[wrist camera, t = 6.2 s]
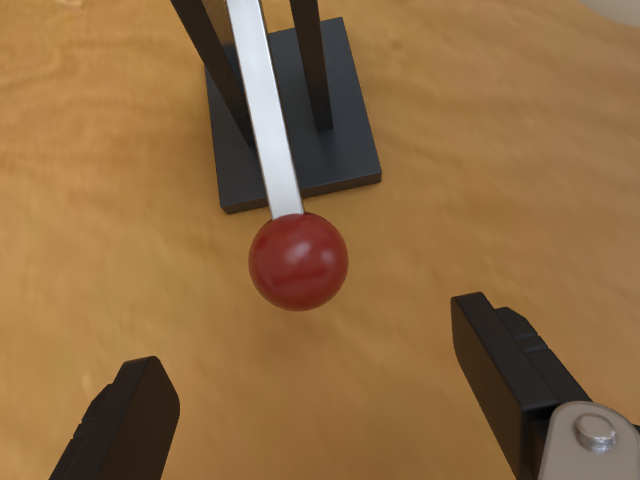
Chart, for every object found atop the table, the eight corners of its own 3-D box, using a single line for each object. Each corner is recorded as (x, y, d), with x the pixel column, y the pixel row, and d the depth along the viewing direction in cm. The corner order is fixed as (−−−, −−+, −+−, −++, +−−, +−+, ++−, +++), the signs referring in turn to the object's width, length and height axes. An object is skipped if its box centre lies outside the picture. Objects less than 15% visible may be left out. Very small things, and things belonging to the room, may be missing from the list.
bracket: (381, 182, 23) (403, -62, 10) (227, 214, 23) (52, 22, 10) (342, 30, 26) (321, -300, 13) (209, 61, 27) (59, -230, 14)
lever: (354, 291, 16) (360, 310, 12) (268, 308, 16) (250, 332, 12) (273, -106, 15) (255, -202, 12) (184, -84, 15) (141, -172, 12)
